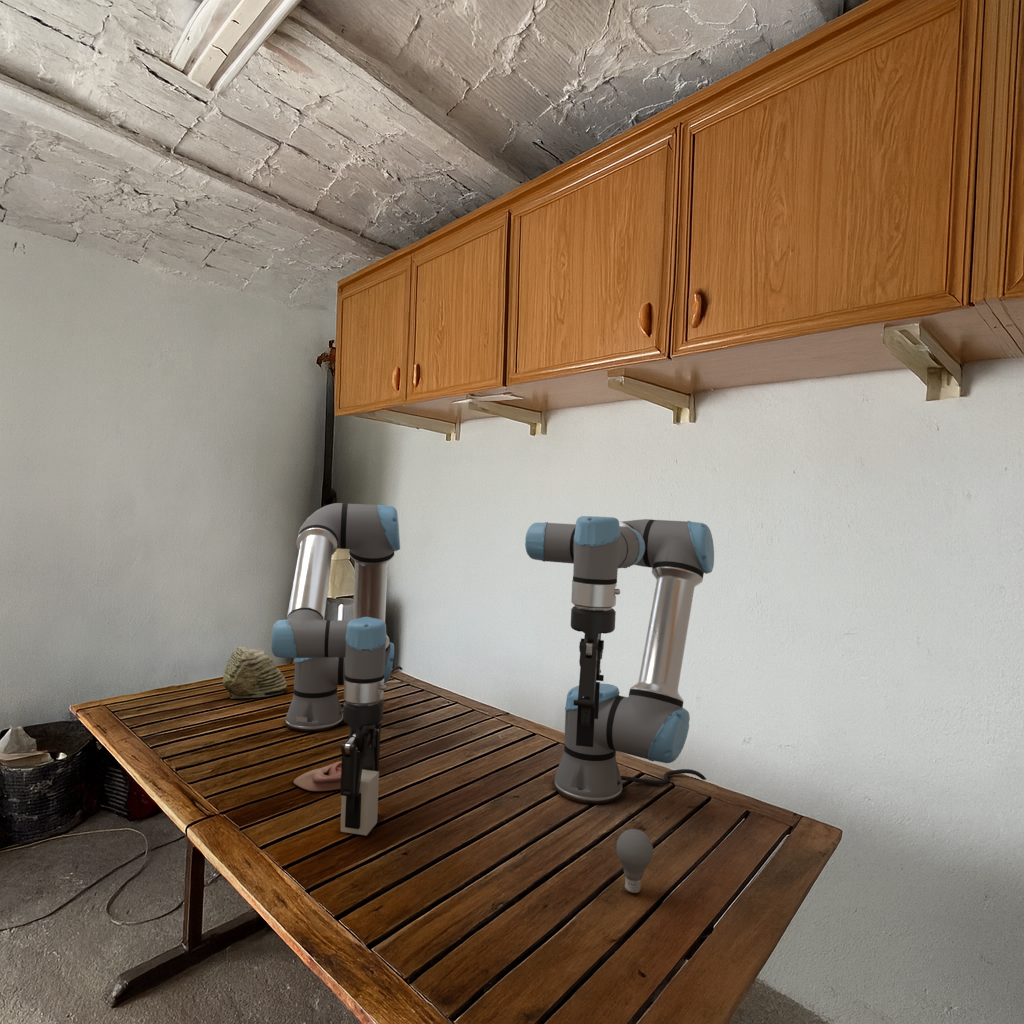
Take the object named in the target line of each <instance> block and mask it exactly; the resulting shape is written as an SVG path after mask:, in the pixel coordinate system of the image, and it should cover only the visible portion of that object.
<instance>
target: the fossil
mask: <svg viewBox="0 0 1024 1024" xmlns="http://www.w3.org/2000/svg"><path fill="white" fill-rule="evenodd" d="M222 676H223V677H222V685H223V687H224V688H225V690H226V691H228V693H229V698H230V699H250V698H264V697H271V696H275V695H281V694H284V693H285V691H286V689H287V687H288V686H287V680H286V678H285V676H284V674H283V673H282V672H281V669H279V668H278V667H277V665H276V663H275V662H274V660H273V659H272V658H271V657H270V656H269V655H268V654H267V653H266V652H265V650H264V649H263V648H260V647H258V648H251V647H247V646H246V647H245V646H238V647H237V648H236V649H235V650H233V651H232V653H231V656H230V657H229V659H228V660H227V663H226V666H225V668H224V671H223V675H222Z"/></svg>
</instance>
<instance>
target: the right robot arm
mask: <svg viewBox="0 0 1024 1024" xmlns="http://www.w3.org/2000/svg"><path fill="white" fill-rule="evenodd" d="M524 541H525V543H524V547H525V551H526V554H527V556H528V557H529V558H530V559H531V560H535V561H540V562H541V561H542V562H545V563H546V562H550V563H563V564H573V572H572V573H573V574H572V575H573V576H572V580H571V600H570V601H571V603H572V605H573V606H572V607H571V608H570V627H571V629H572V630H574V631H575V632H579V633H581V632H582V633H584V637H583V638H580V641H579V645H578V646H579V647H578V648H579V649H578V651H579V659H578V660H579V661H578V663H579V667H580V668H579V681H578V685H576V686H574V687H571V689H569V691H568V692H567V694H566V702H565V707H564V710H565V714H564V737H563V739H564V740H563V741H564V742H563V743H564V745H563V753H562V756H561V759H560V761H559V764H558V766H557V770H556V772H555V776H554V783H553V784H554V785H553V787H554V789H555V791H556V792H557V793H558V794H559V795H560V796H561V797H564V798H566V799H568V800H571V801H574V802H577V803H581V804H587V805H601V804H608V803H612V802H615V801H616V800H617V801H618V799H620V797H621V796H622V794H623V781H627V782H633V783H639V784H648V785H654V786H661V785H662V786H663V785H665V784H667V783H668V781H669V777H670V776H675V775H680V774H681V775H682V774H690V775H694V776H696V777H698V778H699V779H700V780H703V781H706V780H707V778H706V776H705V775H704V774H703V773H701V772H700V771H698V770H694V769H690V768H681V769H673V770H669V771H666V772H665V773H664V774H663V779H658V780H657V779H656V780H655V779H649V778H648V779H647V778H640V777H635V776H627V775H621V772H620V769H619V765H618V761H617V756H616V755H617V752H618V753H623V754H625V755H629V756H633V757H638V758H640V759H644V760H648V761H650V762H657V763H663V764H671V763H673V762H675V761H676V760H677V759H678V758H679V756H680V755H681V753H682V751H683V750H684V749H683V748H684V747H685V745H686V741H687V738H688V734H689V729H690V720H691V719H690V717H691V716H690V712H689V711H688V710H687V709H686V708H685V707H684V702H685V701H684V699H683V697H682V696H681V695H680V693H679V685H680V680H681V674H682V667H683V661H684V655H685V648H686V643H687V637H688V630H689V626H690V625H689V624H690V618H691V611H692V607H693V606H692V605H693V599H694V598H693V597H694V593H695V588H696V587H697V586H699V585H701V584H702V583H703V579H704V575H708V574H710V573H712V572H713V569H714V565H715V547H714V539H713V534H712V532H711V529H710V527H709V525H707V524H706V523H704V522H696V521H691V520H687V521H686V520H669V519H668V520H666V519H651V518H650V519H649V518H644V519H631V520H624V521H619V519H618V518H617V517H613V516H593V515H590V516H589V515H581V516H579V517H577V518H576V521H575V523H560V522H559V523H558V522H548V521H545V522H534V523H532V524H531V525H529V527H528V528H527V530H526V534H525V540H524ZM633 566H638V567H643V568H651V575H652V576H653V577H654V579H656V583H655V589H654V593H653V600H652V605H651V610H650V615H649V620H648V627H647V633H646V637H645V644H644V649H643V654H642V660H641V665H640V671H639V676H638V681H637V683H636V684H634V685H632V686H631V687H630V688H629V691H628V696H623V695H620V693H621V692H620V689H619V688H618V686H616V685H615V684H612V683H611V684H610V683H601V682H604V680H605V679H604V678H605V677H604V676H605V675H604V674H601V673H602V670H601V662H602V661H601V660H602V659H603V653H604V648H605V647H604V646H605V640H604V639H602V634H610V633H612V632H614V631H615V629H616V617H617V615H616V613H617V611H616V610H615V609H614V607H615V606H616V605H617V596H619V595H620V594H621V590H620V588H617V583H618V571H619V569H628V568H630V567H633Z"/></svg>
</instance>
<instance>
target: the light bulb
mask: <svg viewBox="0 0 1024 1024" xmlns="http://www.w3.org/2000/svg"><path fill="white" fill-rule="evenodd" d="M615 849H616V854H617V857H618V859H619V861H620V863H621V865H622V867H623V873H624V874H623V875H624V876H625V878H624V888H625V890H627V891H628V892H630V893H634V894H635V893H639V892H640V891H641V889H642V887H641V886H642V879H643V877H644V875H645V871H646V868H647V867H648V866H649V864H650V863H651V861H652V859H653V855H654V847H653V843H652V841H651V838H649V836H648V835H647V834H646V833H645V832H643V831H642V830H641V829H636V828H629V829H627V830H625V831H623V832H622V833H621V834H620V835H619V837H618V839H617V841H616V847H615Z"/></svg>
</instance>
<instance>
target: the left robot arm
mask: <svg viewBox="0 0 1024 1024" xmlns="http://www.w3.org/2000/svg"><path fill="white" fill-rule="evenodd" d="M400 539H401V537H400V526H399V515H398V510H397V509H396V508H395V506H393V505H384V504H380V503H378V504H368V503H365V504H364V503H343V502H336V503H335V502H334V503H330V504H327V505H324V506H322V507H321V508H318V509H316V511H314V512H313V513H311V515H309V516H308V517H307V518H306V519H305V521H304V522H303V523H302V525H301V526H300V528H299V531H298V532H297V537H296V543H295V544H296V545H295V546H296V549H297V550H298V556H297V560H296V566H295V572H294V577H293V582H292V588H291V593H290V598H289V604H288V609H287V615H286V618H285V619H279V620H276V621H275V622H274V624H273V626H272V631H271V652H272V654H273V656H274V657H275V658H283V659H294V660H293V663H294V674H293V675H294V680H293V695H292V696H293V697H292V699H291V702H290V704H289V708H288V711H287V713H286V715H285V726H286V728H287V729H289V730H291V731H294V732H295V731H296V732H301V733H316V732H325V731H329V730H332V729H335V728H337V727H339V726H340V725H342V723H343V722H344V723H345V724H347V725H348V726H349V733H348V738H347V742H342V743H341V744H340V745H341V746H340V754H341V761H342V766H341V788H340V789H339V791H340V792H339V795H340V796H341V797H342V796H346V814H345V827H346V828H353V829H359V828H360V816H361V793H359V790H360V782H361V775H362V769H363V770H371V771H378V772H380V754H381V753H380V752H381V750H380V749H381V731H382V726H383V724H382V721H383V718H384V701H383V699H384V695H385V694H384V691H385V690H386V688H387V685H386V683H388V682H389V681H390V678H391V675H392V673H393V672H395V671H397V670H399V671H403V670H404V669H403V667H402V666H400V665H398V666H395V667H394V668H393V665H394V656H395V645H394V644H395V643H393V642H391V641H390V637H389V636H388V633H387V624H386V609H387V592H388V571H389V570H388V569H389V562H390V561H391V560H393V558H394V557H395V552H397V551H400V550H401V540H400ZM338 549H341V550H349V551H348V555H349V557H350V558H351V559H352V560H353V561H354V573H353V575H354V580H353V613H352V619H350V620H349V619H348V620H347V619H345V620H343V619H340V620H339V619H334V620H333V619H327V620H326V619H325V616H326V608H327V599H328V590H329V582H330V575H331V568H332V567H331V566H332V558H333V555H334V554H335V553H336V551H337V550H338ZM338 686H343V700H344V702H343V703H341V702H340V699H339V695H338Z"/></svg>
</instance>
